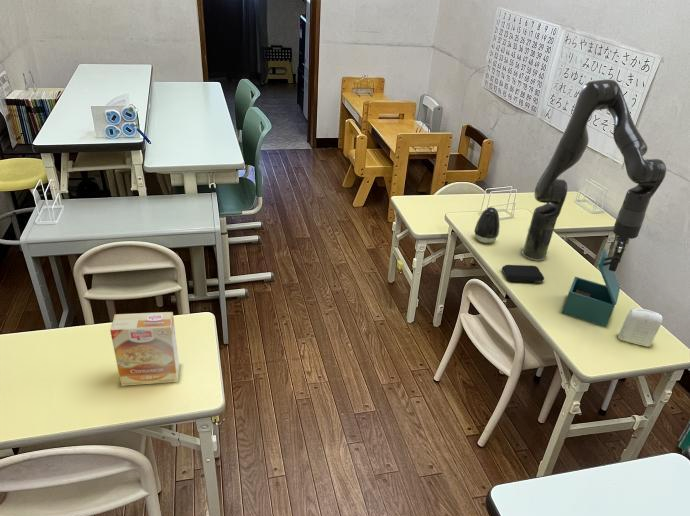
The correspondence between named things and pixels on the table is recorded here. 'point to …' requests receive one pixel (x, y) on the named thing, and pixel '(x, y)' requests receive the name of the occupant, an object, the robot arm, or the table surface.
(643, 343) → the photo printer
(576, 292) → the block
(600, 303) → the chest
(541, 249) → the robot arm
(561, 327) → the table surface
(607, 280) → the lid
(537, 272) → the carrying case
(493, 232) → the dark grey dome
